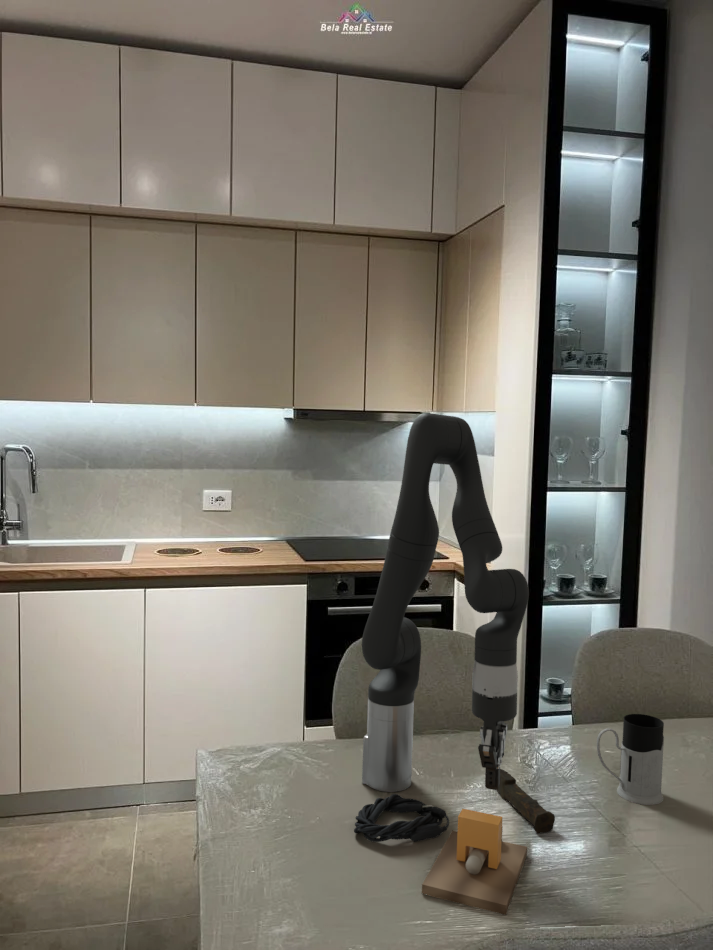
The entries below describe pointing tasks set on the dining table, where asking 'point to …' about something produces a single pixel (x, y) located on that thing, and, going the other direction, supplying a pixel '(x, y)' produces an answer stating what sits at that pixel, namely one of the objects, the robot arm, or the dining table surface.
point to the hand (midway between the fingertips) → (492, 787)
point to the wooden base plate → (476, 876)
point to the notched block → (479, 835)
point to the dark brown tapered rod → (525, 804)
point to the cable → (411, 830)
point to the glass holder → (639, 759)
